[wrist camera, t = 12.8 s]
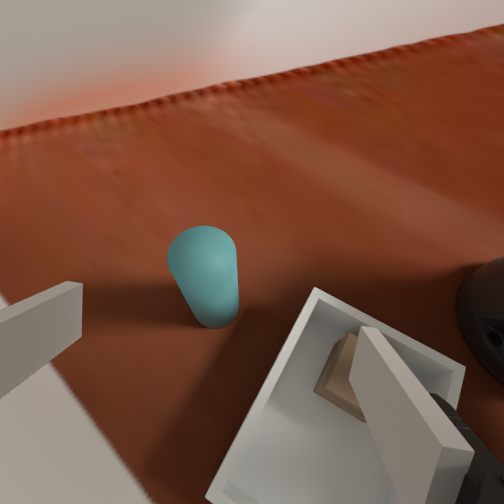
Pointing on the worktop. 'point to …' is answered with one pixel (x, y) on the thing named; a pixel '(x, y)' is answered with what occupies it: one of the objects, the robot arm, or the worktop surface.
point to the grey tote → (319, 420)
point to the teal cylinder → (206, 274)
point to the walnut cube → (340, 377)
